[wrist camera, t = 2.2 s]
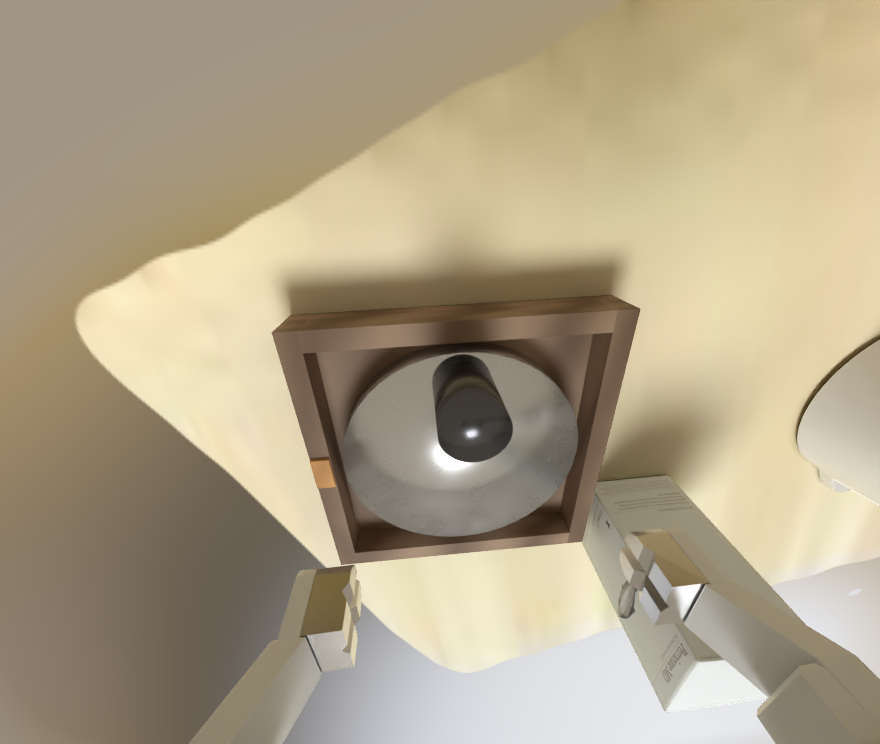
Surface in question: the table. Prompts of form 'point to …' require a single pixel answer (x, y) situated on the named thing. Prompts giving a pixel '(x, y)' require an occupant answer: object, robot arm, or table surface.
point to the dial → (459, 440)
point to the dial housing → (410, 329)
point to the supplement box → (657, 646)
